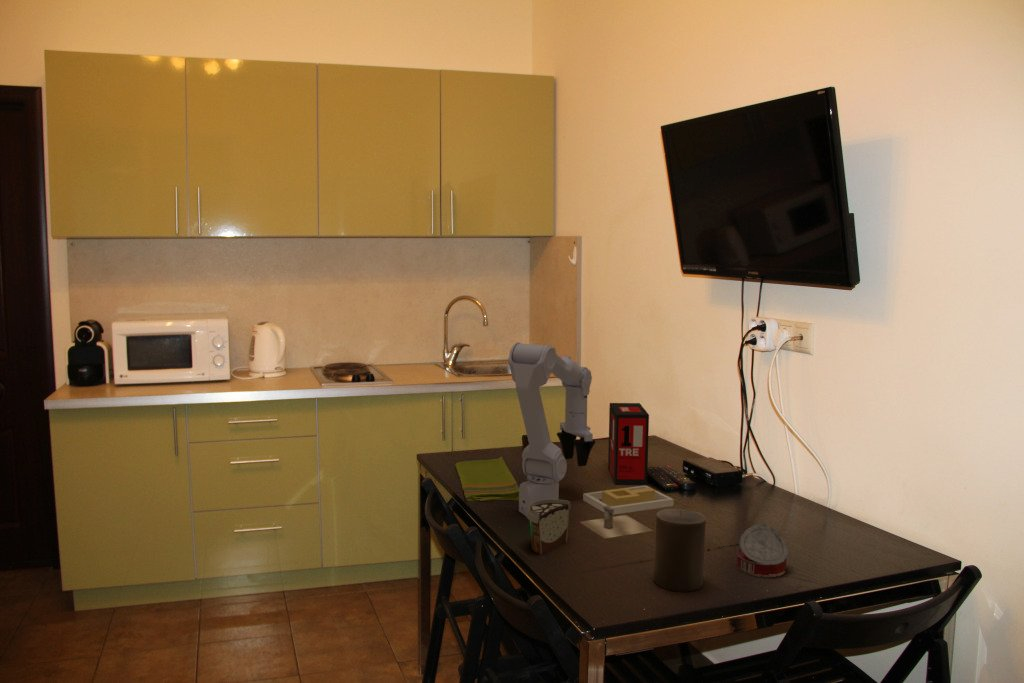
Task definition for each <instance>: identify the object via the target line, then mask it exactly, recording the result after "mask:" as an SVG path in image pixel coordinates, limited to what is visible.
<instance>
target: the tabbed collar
mask: <svg viewBox="0 0 1024 683" xmlns="http://www.w3.org/2000/svg"><path fill="white" fill-rule="evenodd" d="M627 488H628V487H621V488H614V489H606V490H601V491H602V499H601V502H603V503H605V504H606V505H608V506H610V507H612V506H619V505H626V504H633V503H640V502H648V501H655V500H656V499H655V490H656V489H654V488H652V487H650V488H644V489H636V490H629V489H627Z"/></svg>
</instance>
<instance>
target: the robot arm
mask: <svg viewBox="0 0 1024 683" xmlns="http://www.w3.org/2000/svg"><path fill="white" fill-rule="evenodd" d="M507 362H508V367H509V371H510V375H511V378H512V381H513V382H514V383H515V384H514V385H515V390H516V394H517V399H518V402H519V407H520V411H521V416H522V418H523V420H522V421H523V424H524V427H525V431H526V432H525V433H526V438H527V441H528V445H527V446H526V447H524V449H523V451H522V454H521V458H522V462H521V463H522V464H521V466H522V467H521V468H522V471H523V474H524V475H525V476H526V481H524V482H521V483H520V484H519V500H518V512H519V513H521V514H522V515H524V516H525V517H526V518H527V516H526V515H527V511H528V508H529V506H530V504H532V503H534V502H536V501H540V500H547V499H559V498H560V496H559V490H560V489H559V488H560V481H562V480H563V479H564V478H565V476H566V473H567V466H568V465H567V460H571V459H573V458H574V451H575V450H576V451H575V453H576V460H577V461H576V462H577V466H578V467H586V466H587V464H588V460H589V457H590V453H591V451H592V449H593V447H594V445H595V444H596V440H595V439H593V433H592V432H591V427H590V426H588V396H589V395H590V392H591V391H590V390H591V389H590V388H591V386H592V385H591V384H592V381H593V380H592V379H593V376H592V371H591V370H590V369H588V367H587V366H581V365H579V363H578V362H577V361H573V360H572V357H571V356H569V355H564V356H560V355H559V354H558V353H557V350H556V347H554V346H553V345H550V344H545V345H544V344H531V343H530V344H529V343H522V342H515V343H514V344H513V345H512V346H511V349H510V350H509V355H508V359H507ZM551 374H553V376H554V377H556V378H557V379H558V380H560V381H561V385H562V387H563V388H565V402H564V404H565V406H564V410H565V411H564V412H565V415H564V422H559V430H560V432H558V431H557V433H556V436H557V437H558V440H559V441H560V442H559V443H560V445H561V448H560V447H559V446H558V445H557V444H555V443H553V442H552V440H551V435H550V432H549V431H550V430H549V427H548V423H547V419H546V413H545V409H544V404H543V400H542V395H541V391H540V387H543V386H544V385H547V382H548V380H549V378H550V375H551ZM578 438H579V439H578ZM559 500H560V499H559Z"/></svg>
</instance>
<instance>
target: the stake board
mask: <svg viewBox="0 0 1024 683" xmlns="http://www.w3.org/2000/svg"><path fill="white" fill-rule="evenodd" d="M603 513H604V514H603V517H604V518H597V519H589V520H582V521H579V523H580V524H581V525H583V526H585V527H586V528H587V529H589V530H591V531H592V532H593V533H595V534H596V535H599V536H600V537H601V538H603V539H605V540H606V539H611V538H617V537H623V536H630V535H636V534H642V533H649V532H654V530H652V529H651V528H649V527H647V526H646V525H645V524H642V523H640V522H639V521H638V520H635V519H634V518H632V517H630V516H629V515H626V514H624V515H623V514H621V515H618V516H614V515H613V513H614V509H612V508H610V507H609V505H608V506H604V512H603Z"/></svg>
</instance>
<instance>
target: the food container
mask: <svg viewBox="0 0 1024 683" xmlns="http://www.w3.org/2000/svg"><path fill="white" fill-rule="evenodd" d="M571 505H572V504H571V501H569V500H567V499H566V500H565V499H547V500H540V501H536V502H534V503H532V504H530V506H529V508H528V511H527V515H526V516H527V517H526V516H525V517H526V518H527V519H528V521H529V526H530V527H529V528H530V543H531V549H532V550H533V552H534V553H537V554H539V555H542V554H545V553H546V552H548V551H550V550H552V549H556V547H560V546H561V545H564V544H565V543H567V542H568V533H569V532H568V530H569V520H570V510H572V506H571Z"/></svg>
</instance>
